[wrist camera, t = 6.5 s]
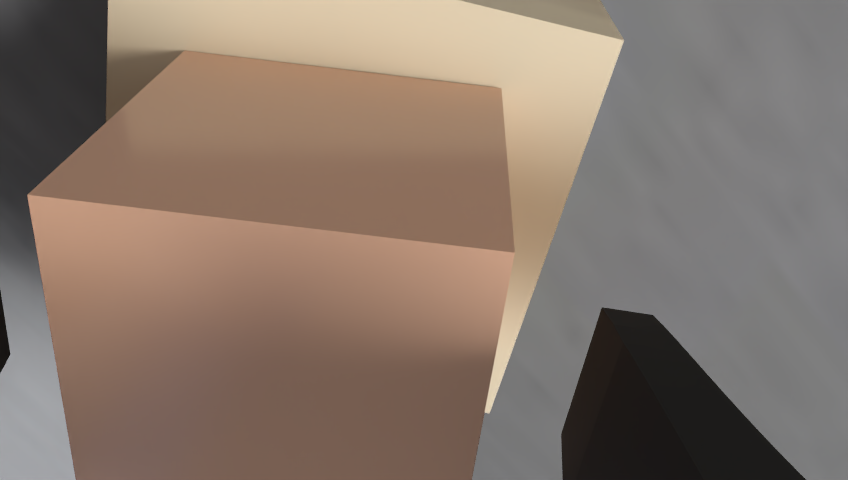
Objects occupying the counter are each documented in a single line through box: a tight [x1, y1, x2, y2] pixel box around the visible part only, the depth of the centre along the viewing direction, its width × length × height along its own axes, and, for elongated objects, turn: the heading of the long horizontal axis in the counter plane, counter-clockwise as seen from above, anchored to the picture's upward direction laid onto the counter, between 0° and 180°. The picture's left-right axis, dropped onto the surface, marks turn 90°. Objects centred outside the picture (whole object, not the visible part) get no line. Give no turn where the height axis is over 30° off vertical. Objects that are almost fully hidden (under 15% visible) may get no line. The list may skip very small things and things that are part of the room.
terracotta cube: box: [27, 51, 515, 480], centre depth 10 cm, size 4×4×4 cm
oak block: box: [106, 0, 624, 413], centre depth 14 cm, size 7×7×3 cm
